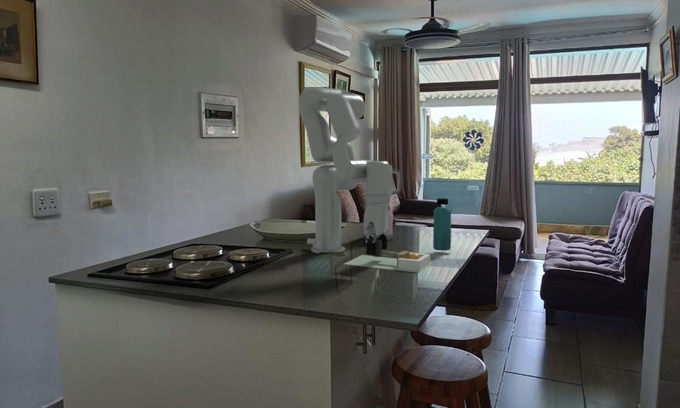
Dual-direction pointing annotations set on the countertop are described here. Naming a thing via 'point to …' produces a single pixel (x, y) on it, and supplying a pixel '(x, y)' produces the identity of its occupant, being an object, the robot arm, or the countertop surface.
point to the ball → (414, 256)
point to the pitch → (378, 263)
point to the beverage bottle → (442, 226)
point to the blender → (390, 215)
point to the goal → (414, 262)
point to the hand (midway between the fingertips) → (376, 251)
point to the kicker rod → (390, 254)
